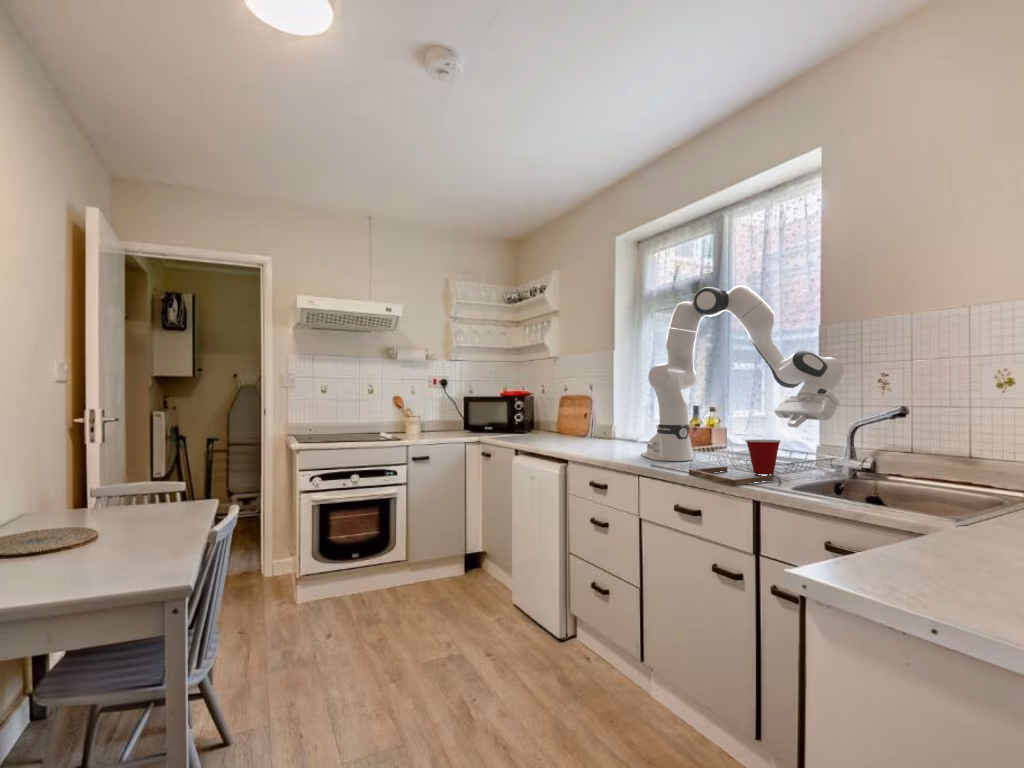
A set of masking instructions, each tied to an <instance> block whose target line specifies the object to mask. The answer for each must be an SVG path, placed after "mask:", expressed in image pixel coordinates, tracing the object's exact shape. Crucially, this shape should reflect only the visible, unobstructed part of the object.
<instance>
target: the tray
mask: <svg viewBox="0 0 1024 768" xmlns="http://www.w3.org/2000/svg"><path fill="white" fill-rule="evenodd" d="M720 471H727V472H728V466H725V465H724V466H723V465H722V466H713V467H712V466H711V467H704V468H703V467H700V468H692V469H688V475H689V476H693V477H696V478H700V479H704V480H708V481H712V482H716V483H720V484H725V485H729V486H733V487H737V486H746V485H745V484H747V485H750V484H749V483H754V482H762V481H772V482H773V476H770V475H767V476H759V475H756V476H750V477H741V478H730V477H727V476H724V475H718V474H715V473H714V472H720ZM710 473H711V474H710Z"/></svg>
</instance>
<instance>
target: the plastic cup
mask: <svg viewBox="0 0 1024 768" xmlns="http://www.w3.org/2000/svg"><path fill="white" fill-rule="evenodd" d="M744 440H745V443H746V445H747V449H748V453H749V457H750V461H751V465H752V471H753V474H754V473H756V474H768V475H769V474H773V475H774V473H775V467H776V463H777V456H778V452H779V451H778V450H779V448H780V444H781V441H782V440H781V439H744Z"/></svg>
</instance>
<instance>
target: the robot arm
mask: <svg viewBox="0 0 1024 768" xmlns="http://www.w3.org/2000/svg"><path fill="white" fill-rule="evenodd" d="M692 300H693V301H682V302H680V303H678V304H677V305H676V306H675V308H674V311H673V312H672V315H671V319H670V323H669V326H668V330H667V335H666V340H665V345H664V346H665V350H666V351H667V356H668V357H667V359H668V360H667V362H665V363H664V362H663V363H660V364H659V363H658V364H657V365H655V366H653V367H652V368H650V370H649V372H648V375H647V376H648V382H649V384H650V386H652V388H653V389H654V392H655V395H656V398H657V402H658V414H659V424H658V425H655V428H656V433H655V435H654V436H652V437H651V438H650V439H649V440H648V441H647V444H646V451H645V452H641V453H640V454H641V456H643V457H644V458H647V459H650V460H654V461H668V462H683V461H684V462H685V461H686V462H687V461H692V460H693V459H694V457H695V454H693V449H692V442H691V441H692V440H691V437H690V435H689V433H690V424H689V407H688V403H687V402H686V401H685V398H684V396H683V393H682V391H683V390H686V389H688V388H690V387H692V386H693V385H694V384H695V383H696V382H697V372H696V370H695V368H694V352H695V351H694V350H695V346H696V345H695V344H696V340H697V335H698V331H699V327H700V323H701V321H702V320H703V319H704V318H711V317H717V316H721V315H722V314H724V312H728V313H731V315H733V316H734V317H735V318H736V320H738V322H739V323H740V324H741V325H742V327H743V328H744V329H745V331H746V332H747V335H748V336H749V337H748V338H749V340H750V342H751V343H752V345H753V347H754V348H755V349H756V351H757V352H758V354H759V355H760V356H761V358H762V359H763V360H764V361H765V363H766V364H767V366H768V367H769V369H770V371H771V372H772V375H773V379H774V380H775V382H776V383H777V384H779V386H782V387H783V388H786V389H792V388H796V387H798V386H799V385H801V384H802V383H804V384H803V385H802V387H801V388H800V390H799V391H798V393H797V395H796V396H795V395H790V396H788V397H785V398H783V399H782V400H781V401H780V402H779V403H778V404H777V405H776V406H775V408H774V410H773V411H774V414H775V415H776V416H777V417H778V418H780V419H789V421H788V422H787V426H788V427H789V428H798V427H800V425H801V424H803V423H805V422H806V421H807V420H812V421H813V420H815V421H828V420H830V419H832V417H833V416H834V414H835V412H836V410H837V407H838V406H839V405H840V401H839V400H838V398H837V396H835V394H834V393H833V392H832V391H834V390H836V387H837V386H838V385H839V383H840V382H841V380H842V378H843V375H844V369H845V368H844V365H843V363H842V362H841V361H839V360H838V359H837V358H834V357H831V356H828V357H827V356H826V357H825V356H824V357H823V356H820V355H818V354H816V353H814V351H811V350H808V349H800V350H797V351H796V352H795V353H792V354H791V356H789V357H788V358H786V357H785V356H784V355H783V353H782V352H781V351H780V349H779V348H778V347H777V346H776V344H775V343H774V341H773V338H772V331H773V327H774V325H775V322H776V318H775V317H776V315H775V313H774V311H773V309H772V308H771V307H770V305H769V304H768V303H767V302H766V301H765V300H764V299H763V298H762V297H761V296H760V295H758V293H757V292H755V291H754V290H752V289H751V288H750V287H749V286H746V285H745V284H744V285H743V284H742V285H736V286H735V287H732V288H731V289H730V290H729V291H726V290H723V289H720V288H718V287H712V286H706V287H703V288H701V289H699V290H698V291H696V293H695V295H694V297H693V299H692Z"/></svg>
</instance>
